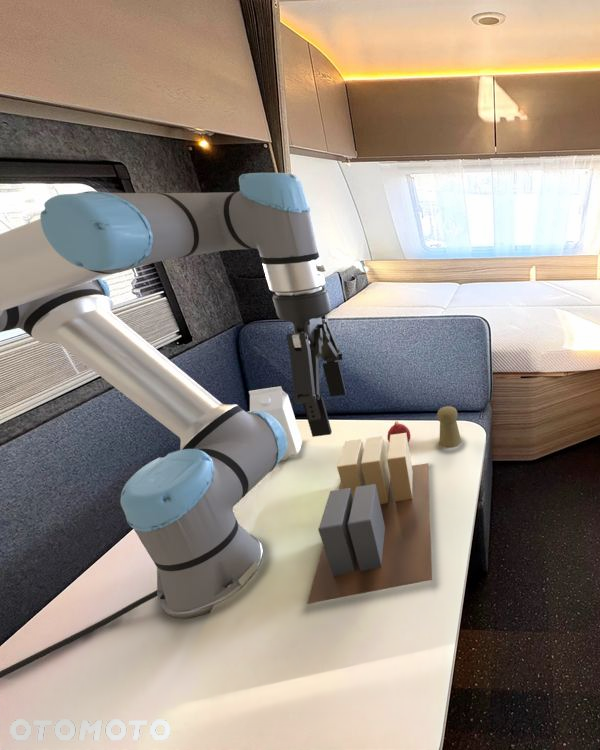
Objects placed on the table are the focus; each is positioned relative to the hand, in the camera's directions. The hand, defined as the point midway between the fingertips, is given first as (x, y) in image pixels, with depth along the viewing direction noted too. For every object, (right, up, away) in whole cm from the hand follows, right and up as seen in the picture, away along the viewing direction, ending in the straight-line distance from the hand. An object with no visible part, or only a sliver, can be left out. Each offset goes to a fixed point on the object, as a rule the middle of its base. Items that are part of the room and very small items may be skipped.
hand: (331, 412), depth 66 cm
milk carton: (-28, -14, +36) cm, 47 cm away
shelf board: (+5, -24, +12) cm, 27 cm away
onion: (+3, -13, +36) cm, 38 cm away
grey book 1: (+1, -26, +4) cm, 26 cm away
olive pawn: (+16, -12, +36) cm, 41 cm away
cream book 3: (+8, -18, +20) cm, 28 cm away
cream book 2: (+3, -19, +19) cm, 27 cm away
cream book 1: (-2, -20, +19) cm, 27 cm away
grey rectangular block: (+6, -26, +5) cm, 27 cm away
